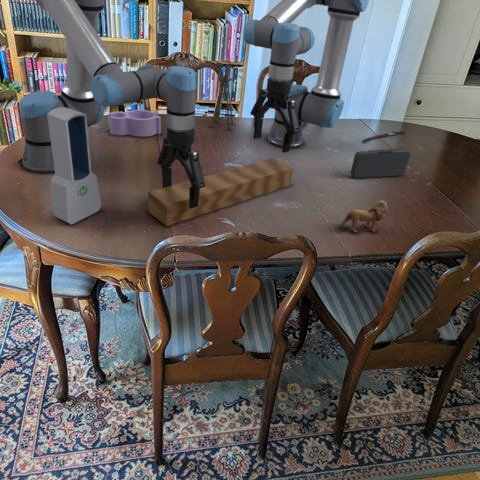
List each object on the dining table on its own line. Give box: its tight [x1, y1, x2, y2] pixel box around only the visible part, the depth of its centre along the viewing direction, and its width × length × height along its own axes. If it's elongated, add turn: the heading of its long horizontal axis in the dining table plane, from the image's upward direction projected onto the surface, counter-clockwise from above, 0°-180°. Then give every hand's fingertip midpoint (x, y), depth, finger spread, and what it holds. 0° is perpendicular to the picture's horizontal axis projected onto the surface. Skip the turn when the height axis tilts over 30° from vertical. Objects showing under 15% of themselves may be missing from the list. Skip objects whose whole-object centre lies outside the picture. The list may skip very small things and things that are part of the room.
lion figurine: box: [339, 199, 388, 234], centre depth 139 cm, size 15×5×9 cm, turn 110°
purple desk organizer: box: [108, 109, 162, 138], centre depth 190 cm, size 20×12×7 cm, turn 109°
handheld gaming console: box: [350, 148, 411, 179], centre depth 174 cm, size 23×3×10 cm, turn 108°
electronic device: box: [47, 107, 102, 225], centre depth 126 cm, size 12×8×30 cm, turn 148°
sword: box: [363, 130, 404, 143], centre depth 215 cm, size 31×3×1 cm, turn 126°
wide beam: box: [147, 157, 294, 227], centre depth 149 cm, size 51×10×7 cm, turn 131°
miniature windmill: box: [210, 54, 234, 130], centre depth 200 cm, size 9×8×30 cm
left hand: (180, 197), depth 137 cm, fingers open, 13 cm apart
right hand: (271, 144), depth 154 cm, fingers open, 13 cm apart
